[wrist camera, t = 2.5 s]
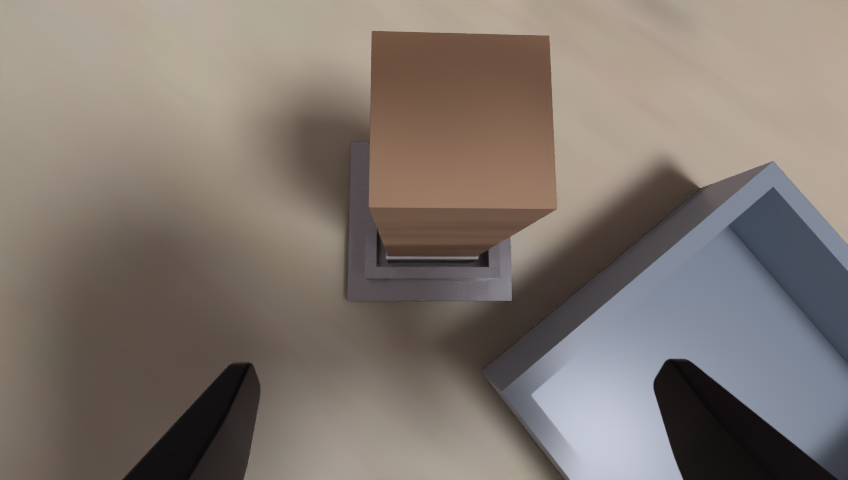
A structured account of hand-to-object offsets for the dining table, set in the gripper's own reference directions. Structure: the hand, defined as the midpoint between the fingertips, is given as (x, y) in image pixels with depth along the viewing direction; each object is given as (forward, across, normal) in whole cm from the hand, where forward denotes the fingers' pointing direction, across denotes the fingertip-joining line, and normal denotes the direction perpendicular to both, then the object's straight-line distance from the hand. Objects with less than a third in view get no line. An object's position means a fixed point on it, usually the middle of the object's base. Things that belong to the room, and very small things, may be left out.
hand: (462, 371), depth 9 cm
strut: (+12, 0, +4) cm, 12 cm away
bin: (+6, -13, +11) cm, 18 cm away
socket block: (+12, 0, +5) cm, 13 cm away
